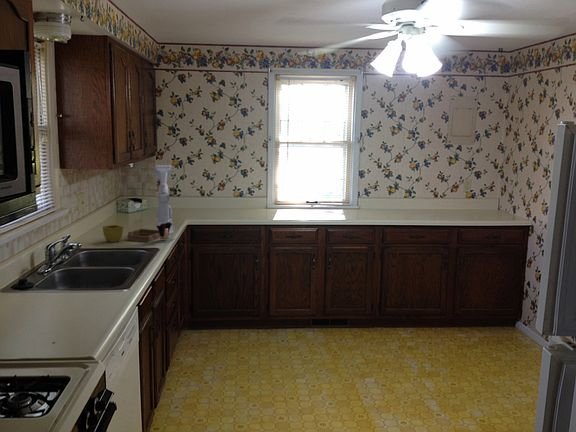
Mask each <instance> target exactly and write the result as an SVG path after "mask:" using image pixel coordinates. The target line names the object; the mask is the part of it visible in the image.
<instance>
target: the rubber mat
mask: <svg viewBox="0 0 576 432" xmlns="http://www.w3.org/2000/svg"><path fill="white" fill-rule="evenodd" d="M174 240H176V238H170V237H169V238H168V239H160V238H159V239H156V240H153V243H159V242H160V243H162V244H166V243H169V242H172V241H174Z"/></svg>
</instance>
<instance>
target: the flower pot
mask: <svg viewBox="0 0 576 432" xmlns="http://www.w3.org/2000/svg"><path fill="white" fill-rule="evenodd" d="M123 230H124V226H121V225H118V224H112V225H105V226H103V225H102V231H103V236H104V239H105V240H106V242H110V243H115V242H120V240H121V239H122V237H123V232H124V231H123Z"/></svg>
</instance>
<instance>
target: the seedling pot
mask: <svg viewBox="0 0 576 432" xmlns="http://www.w3.org/2000/svg"><path fill="white" fill-rule="evenodd" d="M168 238H169V239H170V237H169V235H168V228H165V232H164V237H160V238H159V240H160V239H168Z"/></svg>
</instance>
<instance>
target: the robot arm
mask: <svg viewBox="0 0 576 432" xmlns="http://www.w3.org/2000/svg"><path fill="white" fill-rule="evenodd" d="M154 171H155V178H156V179H158V180H159V185H158V196H157V203H158V205H157V206H156V209H155V213H156V214H155V217H156V220H157V222H156V229H157V230H159V233H160V237H164V232H165V228H168V236H169V235H171V234H173V233H174V230H173V228H174V227H173V224H174V223H173V221H172V218H173V212H172V206H170V192H169V184H168V180H169V179H171V177H172V165H171V164H168V165H167V164H162V165H161V164H160V165H159V164H156V165H154Z"/></svg>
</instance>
